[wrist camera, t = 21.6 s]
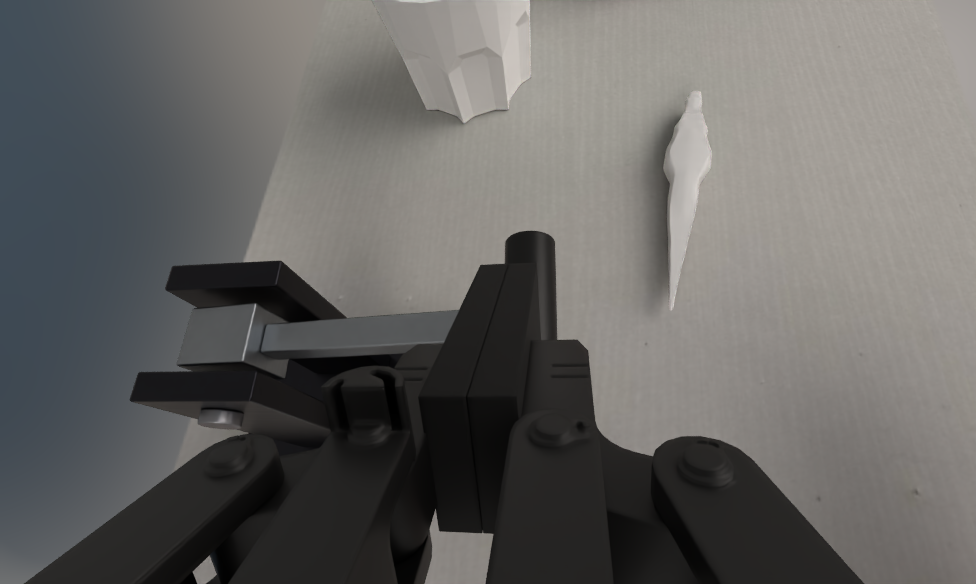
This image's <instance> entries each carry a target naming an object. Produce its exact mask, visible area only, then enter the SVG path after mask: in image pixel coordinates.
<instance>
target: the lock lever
mask: <svg viewBox="0 0 976 584" xmlns="http://www.w3.org/2000/svg"><path fill="white" fill-rule="evenodd" d="M516 263H537V275H538V293H539V310H540V328H541V340H557V308H556V264H555V241H554V239H553V238H552V237H551V236H550V235H548V234H546V233H543V232H539V231H523V232H518V233H515V234H513V235H511V236H510V237H509V238H508V239H507V240H506V243H505V264H508V265H509V264H516ZM458 312H459V310H451V311H438V312H424V313H411V314H397V315H384V316H370V317H357V318H343V319H330V320H316V321H302V322H289V321H287V320H285V319H283V318H282V317H280V316H278V315H276V314H274V313H273V312H271V311H269V310H267V309H266V308H264V307H262V306H260V305H259V304H257V303H249V304H238V305H226V306H215V307H203V308H194V309H193V310H192V312H191V316H190V319H189V323H188V327H187V330H186V333H185V337H184V340H183V344H182V347H181V350H180V354H179V357H178V361H177V365H178V366H179V367H182V368H186V369H188V370H191V371H258V372H260V373H262V374H264V375H267V376H269V377H271V378H273V379H275V380H279V379H285V377H286V372H287V367H288V361H289V359H304V358H323V357H342V356H361V355H380V354H399V353H406V352H407V351H409V350H410V349H412V348H413V347H414V346H416V345H417V344H443V343H444V341H445V339H446V337H447V335H448V333H449V331H450V329H451V326H452V324H453V322H454V320H455V318H456V316H457V314H458Z"/></svg>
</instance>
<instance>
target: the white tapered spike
mask: <svg viewBox="0 0 976 584" xmlns="http://www.w3.org/2000/svg"><path fill="white" fill-rule="evenodd" d="M701 105H702V98H701V92H700V91H691V92H690V93H689V95H688V98H687V99H686V101H685V111H684V113H683V115H682V117H681V119H680V121H679V122H678V123H677V124H676V125H675V126H674V132H673V137H672V140H671V142H670V144H669V145H668V147H667V149H666V152H665V160H664V165H663V170H664V173H665V175H666V177H667V179H668V181H669V183H670V189H669V195H668V205H667V230H668V274H669V309H670V310H672V309H673V306H674V300H675V295H676V290H677V286H678V281H679V277H680V272H681V267H682V264H683V261H684V257H685V253H686V248H687V243H688V239H689V236H690V233H691V229H692V226H693V221H694V217H695V213H696V207H697V202H698V195H699V184H700V183H701V182H702V181H703V180H704V178H705V177H706V175H707V174H708V172H709V170H710V168H711V156H712V152H711V149H710V146H709V142H708V139H707V133H708V128H707V126H706V124H705V121H704V117H703V113H702V112H701Z"/></svg>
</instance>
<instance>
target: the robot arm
mask: <svg viewBox="0 0 976 584" xmlns="http://www.w3.org/2000/svg"><path fill="white" fill-rule="evenodd" d="M321 391H322V395H323V400H324V404H325V408H326V412H327V417H328V421H329V425H330V429H331V432H330V434H329V435H328V437H327V438H326V440H325V441H324V443H323V444H322V446H321V447H320V448H317V449H313V450H308V451H303V452H298V453H293V454H288V455H283V456H279V453H278V450H277V446H276V444H275V442H274V440H273V439H272V438H270V437H268V436H265V435H263V434H245V435H240V436H233V437H230V438H227V439H226V440H223V441H221V442H218V443H216V444H214V445H212V446H211V447H209V448H207V449H206V450H204V451H202V452H201V453H199V454H198V455H196V456H195V457H194V458H192V459H191V460H190V461H188V462H187V463H186V464H184V465H183V466H182V467H180V468H179V469H177V470H176V471H175V472H173V473H172V474H171V475H169V476H168V477H167V478H165V479H164V480H163V481H161V482H160V483H159V484H157V485H156V486H155V487H153V488H152V489H151V490H149V491H148V492H147V493H145V494H144V495H143V496H141V497H140V498H138V499H137V500H136V501H135V502H133V503H132V504H130V505H129V506H128V507H126V508H125V509H124V510H122V511H121V512H120V513H118V514H117V515H116V516H114V517H113V518H112V519H110V520H109V521H108V522H106V523H105V524H104V525H102V526H101V527H100V528H98V529H97V530H95V531H94V532H93V533H91V534H90V535H89V536H87V537H86V538H85V539H84V540H82V541H81V542H79V543H78V544H77V545H76V546H74V547H73V548H71V549H70V550H69V551H67V552H66V553H65V554H63V555H62V556H61V557H59V558H58V559H56V560H55V561H54V562H52V563H51V564H50V565H48V566H47V567H46V568H44V569H43V570H42V571H40V572H39V573H38V574H36V575H35V576H34V577H32V578H31V579H30V580H28V581H27V582H26V583H24V584H197V582H196V579H195V577H194V574H193V571H194V570H195V569H196V568H197V567H198V566H199V565H200V564H201V563H202V562H203V561H204V560H205V559H206V558H207V557H208V556H209V555H210V557H211V560H212V562H213V565H214V568H215V570H216V573H217V575H216V576H215V577H214V578H213V579H212V580H210V581H209V582H208V583H206V584H424V583H425V580H426V576H427V572H428V569H429V565H430V562H431V558H432V543H431V537H430V531H429V528H430V525H431V522H432V518H433V515H434V512H435V509H436V513H437V519H438V526H439V531H444V532H468V533H482V532H483V533H492V534H494V535H493V541H492V547H491V553H490V559H489V565H488V572H487V578H486V584H864V583H863V582H862V581H861V580H860V579H859V578H858V576H857V575H856V574H855V573H854V572H853V571H852V570H851V569H850V567H849V566H848V565H847V564H846V563H845V562H844V561H843V560H842V559H841V557H840V556H839V555H838V554H837V553H836V552H835V551H834V550H833V549H832V547H831V546H830V545H829V544H828V543H827V542H826V541H825V540H824V539H823V537H822V536H821V535H820V534H819V533H818V532H817V531H816V530H815V529H814V527H813V526H812V525H811V524H810V523H809V522H808V521H807V520H806V518H805V517H804V516H803V515H802V514H801V513H800V512H799V511H798V510H797V508H796V507H795V506H794V505H793V504H792V503H791V502H790V501H789V500H788V498H787V497H786V496H785V495H784V494H783V493H782V492H781V491H780V490H779V488H778V487H777V486H776V485H775V484H774V483H773V482H772V481H771V480H770V478H769V477H768V476H767V475H766V474H765V473H764V472H763V471H762V470H761V468H760V467H759V466H758V465H757V464H756V463H755V462H754V461H753V460H752V459H751V458H750V457H749V456H747V455H746V454H745V453H744V452H742V451H741V450H740V449H738V448H736V447H734V446H732V445H729V444H727V443H725V442H723V441H721V440H716V439H711V438H706V437H702V436H684V437H678V438H675V439H672V440H668V441H666V442H664V443H663V444H662V445H661V446H659V447H658V448H657V449H656V450H655V453H654V456H649V455H645V454H640V453H636V452H633V451H630V450H627V449H623V448H621V447H619V446H617V445H615V444H614V443H612V442H610V441H609V440H608V439H607V438H605V437H604V436H603V435H602V434H601V432H600V431H599V430H598V428H597V425H596V422H595V415H594V405H593V395H592V385H591V375H590V367H589V355H588V350H587V349H586V348H585V347H584V346H583V345H582V344H581V343H580V342H579V341H578V340H541V328H540V310H539V293H538V275H537V263H516V264H509V265H508V264H492V265H480V267H479V270H478V272H477V274H476V276H475V278H474V280H473V282H472V284H471V286H470V289H469V291H468V293H467V295H466V297H465V299H464V301H463V303H462V305H461V307H460V310H459V312H458V314H457V316H456V318H455V320H454V322H453V324H452V326H451V329H450V331H449V333H448V335H447V337H446V339H445V341H444V343H443V344H417V345H416V346H414V347H413V348H412V349H410V350H409V351H407V352H406V353H405V354H403V355H402V356H401V358H400V359H399V361H398V363H397V364H396V366H395V367H394V369H393V368H391V367H386V366H366V367H359V368H355V369H352V370H348V371H345V372H343V373H341V374H339V375H337V376H335V377H333V378H331V379H329V380H328V381H327V382H326V383H325V384H324V385H322V386H321Z"/></svg>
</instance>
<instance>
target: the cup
mask: <svg viewBox="0 0 976 584" xmlns="http://www.w3.org/2000/svg"><path fill="white" fill-rule="evenodd" d="M372 2H373V4H374V6H375V8H376V9H377V11H378V13H379V15H380V17H381V19H382V21H383V23H384V25H385V27H386V29H387V30H388V32H389V34H390V36H391V38H392V40H393V42H394V44H395V45H396V47H397V49H398V51H399V53H400V55H401V57H402V58H403V60H404V63H405V65H406V67H407V69H408V71H409V73H410V75H411V78H412V80H413V82H414V84H415V86H416V88H417V90H418V92H419V95H420V97H421V99H422V101H423V103H424V105H425V107H426V109H427V110H441V111H444V112H446V113H449V114H452V115H455V116H457V117H458V118H459V119H460V120H461V121H462V122H463V123H466V122H467V121H468V120H470V119H471V118H473V117H474V116H477V115H480V114H483V113H487V112H490V111H493V110H509V102H510V99H511V98H512V96H513V95H514V93H515V92H516V90H517V89H518V88H519V86H520V85H521V84H522V83H523V82H525V81H526V80H528V79H530V78H531V43H530V0H372Z"/></svg>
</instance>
